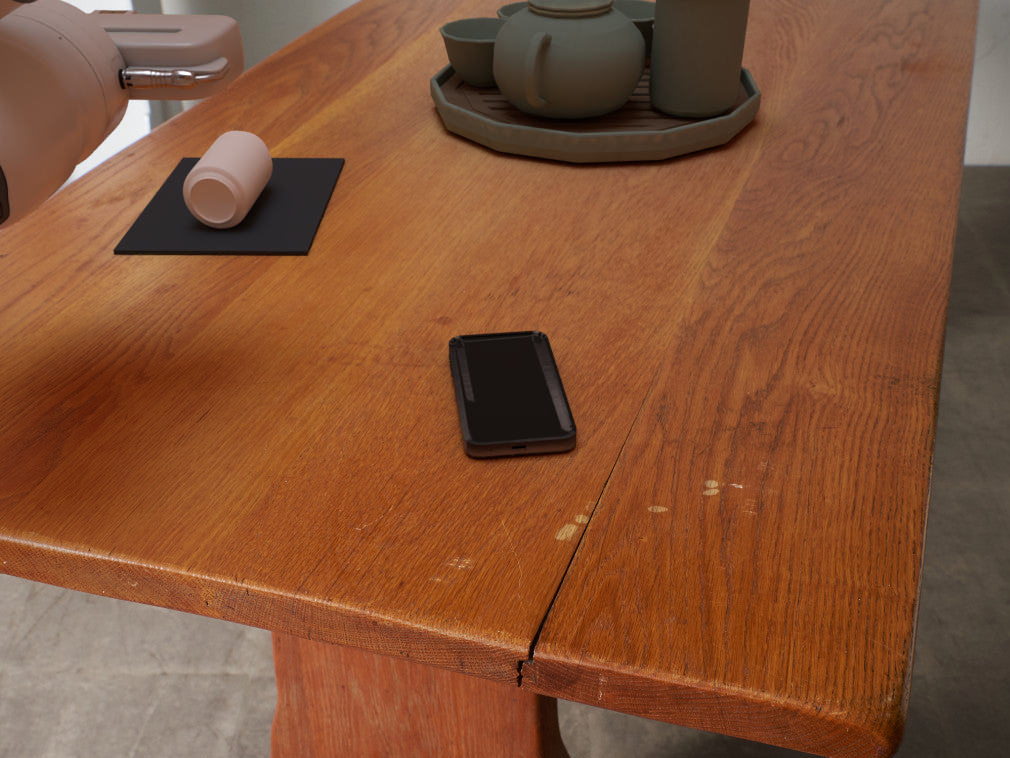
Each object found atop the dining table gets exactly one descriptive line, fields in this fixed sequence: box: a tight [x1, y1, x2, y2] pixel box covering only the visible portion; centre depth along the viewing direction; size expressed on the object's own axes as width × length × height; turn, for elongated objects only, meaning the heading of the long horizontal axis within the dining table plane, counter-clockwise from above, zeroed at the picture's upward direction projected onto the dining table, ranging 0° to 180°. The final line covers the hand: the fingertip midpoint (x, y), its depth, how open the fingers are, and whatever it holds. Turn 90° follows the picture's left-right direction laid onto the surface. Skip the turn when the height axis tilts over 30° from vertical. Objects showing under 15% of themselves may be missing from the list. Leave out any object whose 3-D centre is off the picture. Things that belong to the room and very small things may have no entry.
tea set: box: [429, 0, 762, 164], centre depth 120 cm, size 40×40×16 cm
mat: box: [112, 156, 346, 256], centre depth 102 cm, size 18×24×1 cm
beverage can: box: [183, 130, 273, 229], centre depth 99 cm, size 6×6×12 cm
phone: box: [448, 330, 578, 459], centre depth 74 cm, size 8×1×15 cm
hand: (119, 22), depth 72 cm, fingers closed
